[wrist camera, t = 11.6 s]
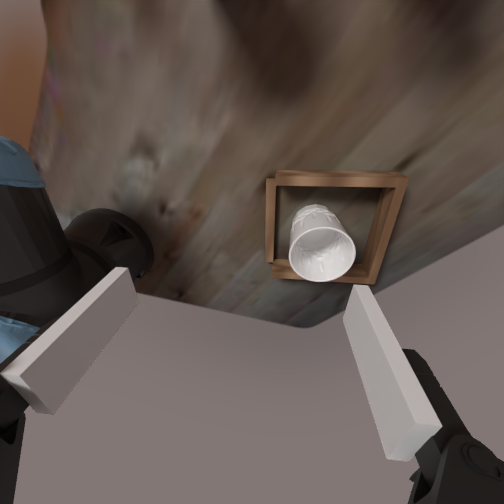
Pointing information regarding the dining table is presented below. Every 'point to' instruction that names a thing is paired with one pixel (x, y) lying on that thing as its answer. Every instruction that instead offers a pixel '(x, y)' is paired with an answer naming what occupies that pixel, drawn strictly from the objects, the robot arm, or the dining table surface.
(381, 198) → the bay
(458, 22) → the dining table surface
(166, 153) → the dining table surface
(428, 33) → the dining table surface
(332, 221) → the white cup
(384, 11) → the dining table surface
